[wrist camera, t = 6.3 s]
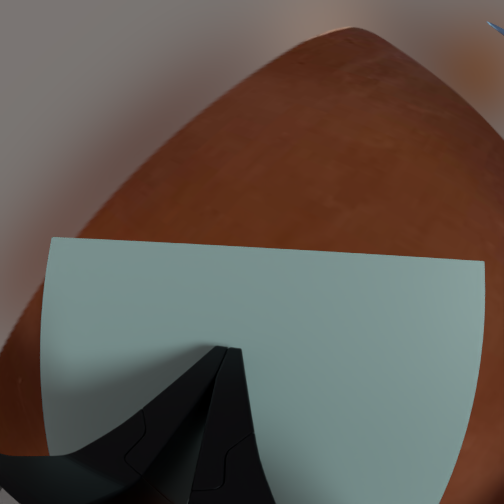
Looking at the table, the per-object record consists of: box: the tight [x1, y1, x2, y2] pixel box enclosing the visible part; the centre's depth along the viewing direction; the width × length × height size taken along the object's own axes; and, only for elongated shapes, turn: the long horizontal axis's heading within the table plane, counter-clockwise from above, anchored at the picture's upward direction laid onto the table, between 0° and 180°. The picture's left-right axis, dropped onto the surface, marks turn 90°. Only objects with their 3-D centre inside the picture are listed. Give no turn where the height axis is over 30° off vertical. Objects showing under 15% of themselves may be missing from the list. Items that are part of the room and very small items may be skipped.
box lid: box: [40, 237, 485, 504], centre depth 9 cm, size 11×18×1 cm, turn 84°
